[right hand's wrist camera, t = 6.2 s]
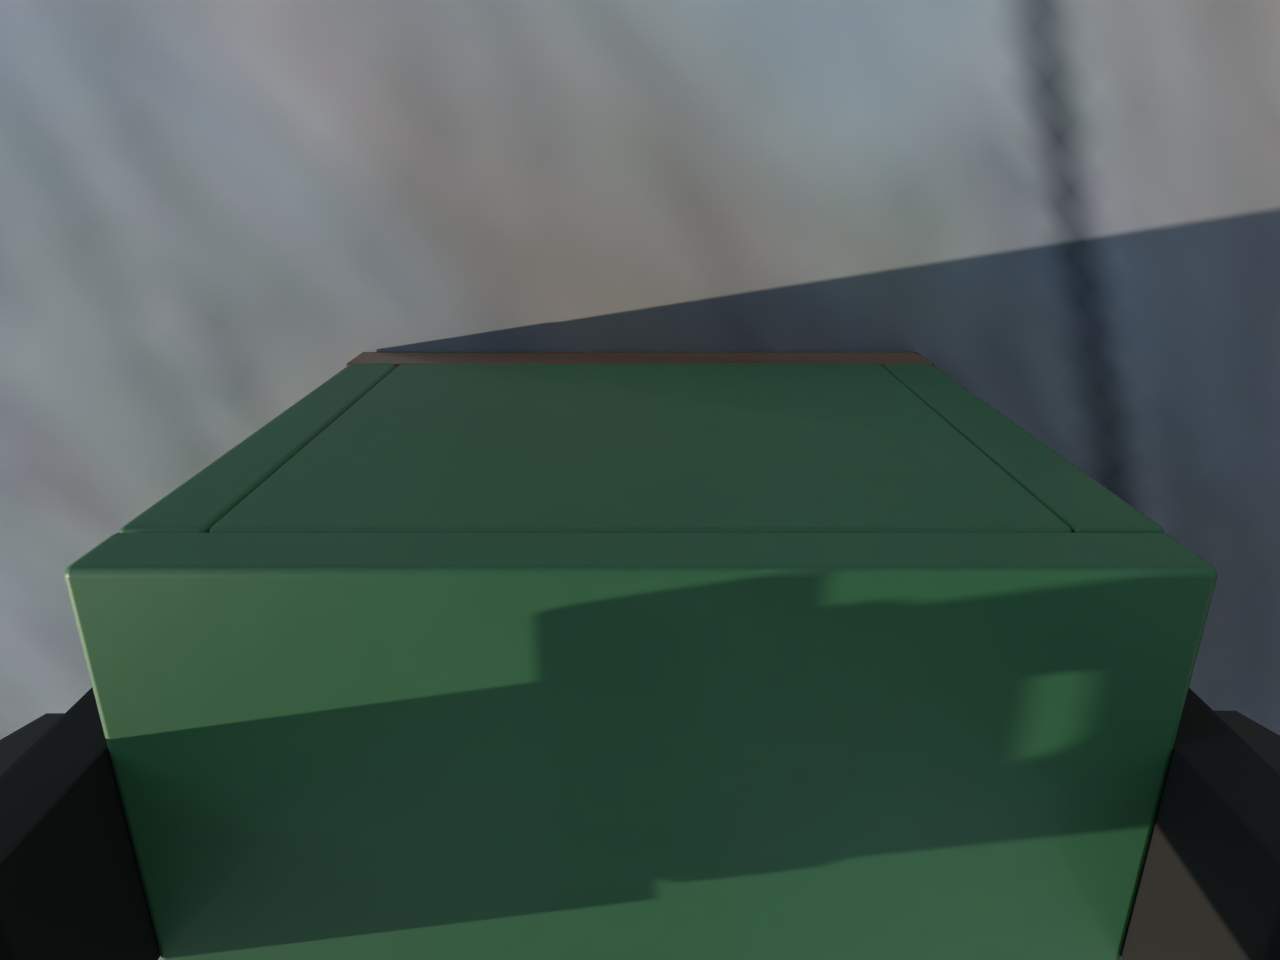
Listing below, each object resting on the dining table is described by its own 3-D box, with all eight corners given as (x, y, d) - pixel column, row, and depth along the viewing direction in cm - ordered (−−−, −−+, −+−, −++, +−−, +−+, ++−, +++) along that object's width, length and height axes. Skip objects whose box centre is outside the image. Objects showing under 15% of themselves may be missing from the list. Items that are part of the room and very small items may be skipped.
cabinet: (842, 1024, 22) (968, 1565, 14) (437, 1024, 22) (311, 1566, 14) (917, 351, 16) (1225, 568, 8) (362, 352, 16) (55, 567, 8)
